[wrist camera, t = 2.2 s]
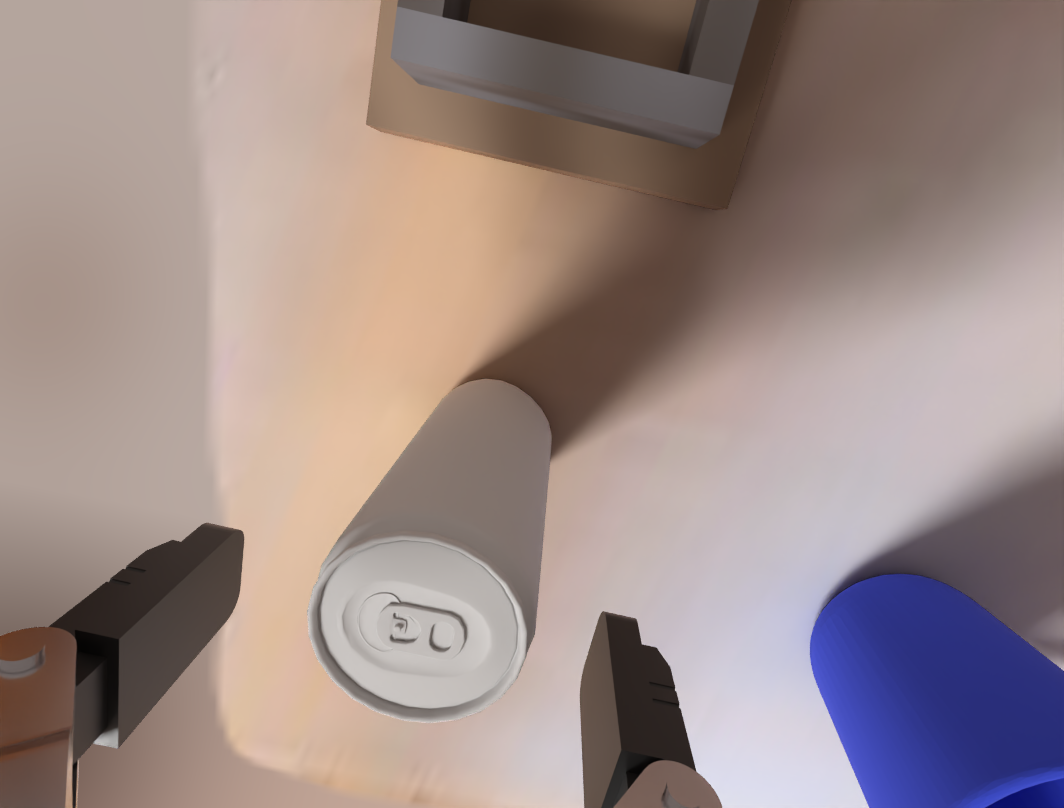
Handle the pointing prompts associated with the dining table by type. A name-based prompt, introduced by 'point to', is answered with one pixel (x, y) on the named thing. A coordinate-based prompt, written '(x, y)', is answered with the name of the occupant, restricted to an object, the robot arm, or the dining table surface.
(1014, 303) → the dining table surface
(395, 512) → the beverage can
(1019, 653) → the mug
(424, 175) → the dining table surface
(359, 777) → the dining table surface
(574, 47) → the can holder
